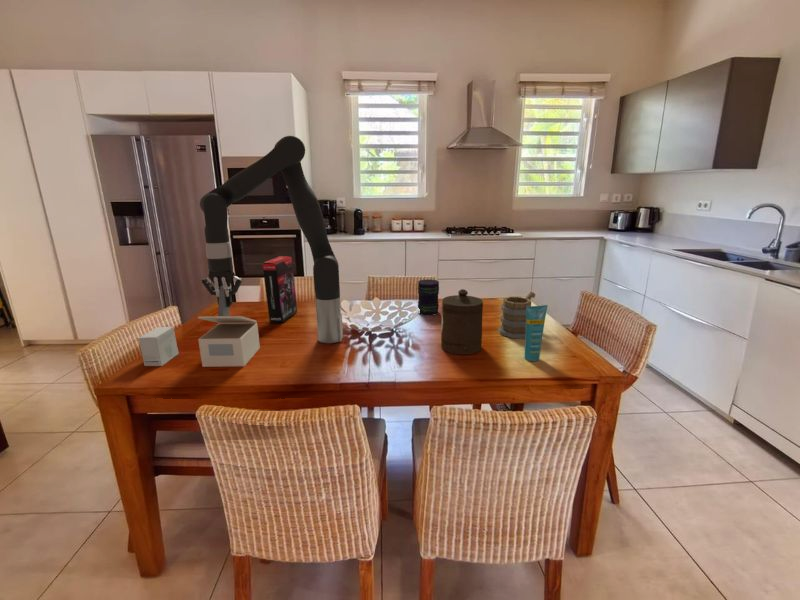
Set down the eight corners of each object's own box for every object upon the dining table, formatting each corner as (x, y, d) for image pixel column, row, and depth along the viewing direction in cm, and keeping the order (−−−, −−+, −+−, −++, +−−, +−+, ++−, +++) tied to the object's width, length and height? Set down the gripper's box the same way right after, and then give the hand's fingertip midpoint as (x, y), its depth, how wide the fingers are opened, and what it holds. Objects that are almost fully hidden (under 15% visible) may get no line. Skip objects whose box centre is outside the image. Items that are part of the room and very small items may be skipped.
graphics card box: (282, 324, 177) (277, 262, 169) (267, 323, 178) (261, 262, 170) (297, 312, 193) (293, 256, 185) (284, 311, 194) (279, 255, 186)
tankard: (519, 340, 156) (522, 303, 151) (492, 332, 165) (494, 297, 161) (546, 329, 168) (550, 294, 164) (520, 321, 177) (522, 288, 173)
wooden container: (457, 337, 160) (459, 283, 154) (489, 347, 150) (492, 289, 144) (432, 347, 150) (433, 290, 144) (465, 358, 140) (467, 297, 134)
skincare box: (161, 353, 146) (156, 326, 143) (179, 353, 146) (174, 326, 143) (143, 366, 136) (137, 337, 133) (161, 366, 136) (156, 337, 133)
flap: (256, 322, 147) (257, 293, 149) (240, 317, 132) (242, 286, 134) (218, 322, 147) (219, 293, 149) (197, 318, 132) (199, 286, 134)
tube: (525, 362, 136) (530, 308, 131) (518, 356, 141) (522, 304, 136) (545, 360, 138) (550, 306, 133) (537, 354, 143) (542, 302, 137)
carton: (259, 347, 151) (257, 322, 148) (244, 366, 135) (240, 338, 132) (222, 348, 150) (218, 322, 148) (202, 366, 135) (198, 338, 132)
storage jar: (439, 315, 186) (440, 284, 182) (418, 315, 187) (418, 284, 182) (437, 309, 196) (438, 279, 192) (417, 309, 196) (417, 279, 192)
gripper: (244, 254, 137) (249, 303, 141) (203, 254, 136) (210, 303, 141) (235, 257, 129) (241, 309, 134) (192, 257, 129) (200, 309, 134)
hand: (225, 306), depth 137 cm, fingers closed on flap
